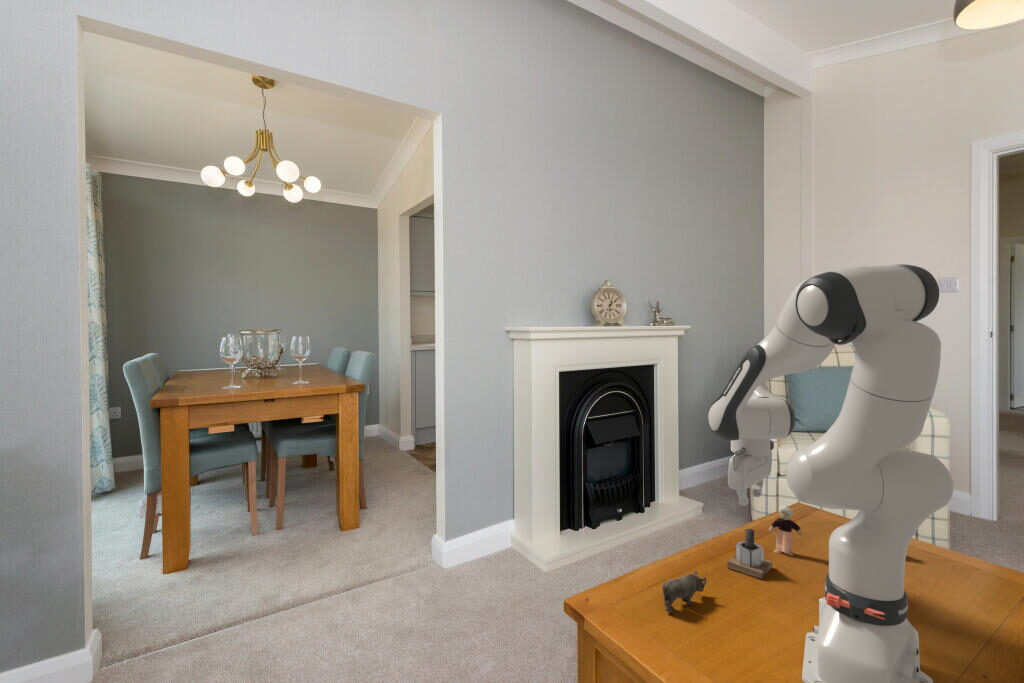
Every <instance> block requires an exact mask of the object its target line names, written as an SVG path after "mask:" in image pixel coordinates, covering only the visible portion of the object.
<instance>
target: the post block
mask: <svg viewBox="0 0 1024 683" xmlns="http://www.w3.org/2000/svg"><path fill="white" fill-rule="evenodd" d="M744 531H745V532H744V533H745V534H744V535H745V536H744V538H745V540H744V541H745V548H747V549H750V550H754V543H755V530H754V529H752V528H746V529H745V530H744ZM763 560H764V564H763V565H762V566H761V567H748V566H744V565H742V564H740V563H739V562H738V561H737V560H736V554H735V555H734V556H732V557H731V558H730V559H729V560H728V561H727V567H728V568H727V567H726V568H727V569H729V568H730V570H732V569H733V571H735V570H736V572H738V571H739V573H741V574H742V573H743V574H744V575H748V576H750V577H754V578H757V579H760V580H762V579H763V578H764V577H765V576H766V575H767V574H768V573H769V572H770V571H771V569H773V561H772V560H768V559H765V558H763Z"/></svg>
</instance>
